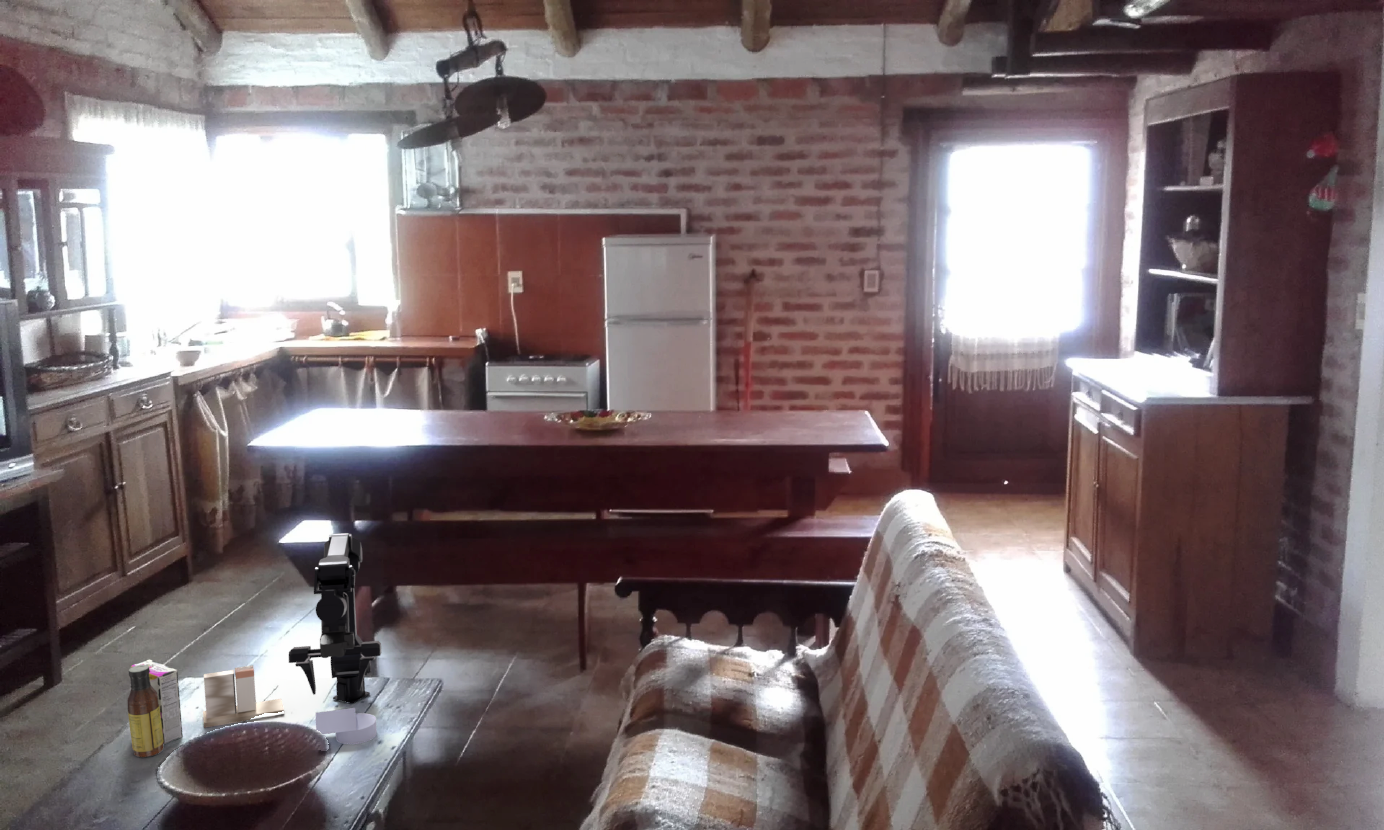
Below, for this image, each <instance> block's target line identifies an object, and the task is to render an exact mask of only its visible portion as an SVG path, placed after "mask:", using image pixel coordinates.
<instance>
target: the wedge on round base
mask: <svg viewBox="0 0 1384 830" xmlns="http://www.w3.org/2000/svg"><path fill="white" fill-rule="evenodd" d="M377 727H378V726H377V717H376V716H375V715H374V714H371V713H366V712H365V713H364V712H358V713H356V707H351V708H350V707H349V708H343V709H342V708H341V709H335V710H326V711H318V712H315V731H316V730H318V731H320V732H321V733H322V735H327V734H335V740H336V741H337V742H338V743H340V744H344V745H358V744H363V743H367V742H369V741H371V740H373V739H374V738H375V737H377V734H378V730H377Z"/></svg>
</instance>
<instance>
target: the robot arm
mask: <svg viewBox="0 0 1384 830" xmlns="http://www.w3.org/2000/svg"><path fill="white" fill-rule="evenodd" d="M323 546H324V548H323V558H321V559H320V560H319V562H318V565H317V566H315V568H314V580H313V581H314V583H313V595H320V596H321V598H320V599H319V600H318V602H317V603H316V606H315V613H316V616H317V618H318V619H319V620H320V623H321V626H320V627H321V628H320V630H321V633H320V634H321V635H320V638H319V648H313V649H312V648H311V645H308V646H307V645H305V646H293V647H292V648H291V649H290V650H289V652H288V663H289V664H293V663H294V665H295V667H300V669H301V670H302V671H303V673H304V674H305V677H306V679H307V682H308V684H309V687H310V690H311V693H312V695H313V696H315V695H316V693H317V692H316V691H317V690H316V689H317V687H316V678H315V677H316V676H315V669H314V662H313V659H314V658H323V659H327V658H329V657H330V673H331V679H335V678H336V684H335V685H336V686H335V687H336V688H335V689H336V695H334V696H332V699H333V700H334V701H338V702H343V703H347V704H355V703H357V702H359V701H360V700H363V699H364V698H366V697H368V696H370V695H371V692H370V691H366V683H365V681H366V680H365V676H366V677H367V676H368V674H370V673H372V668H371V667H372V665H371V661H372V662H373V661H374V660H376V657H380V656H381V655H382V643H381V642H380V641H379V640H373V641H372V640H371V641H363V640H362V639H361V637H360V636H359V635H358V634H357V615H356V613H357V612H356V596H355V594H356V592H355V585H356V584H355V583H356V577H357V575H358V573H359V572H360V567H361V563H362V562H363V548H362V547H363V546H362V542H361V541H359V539H356V538H354V537H353V535H352V533H349V532H343V533H341V532H340V533H331V534H329V535H328V540H327V541H326V542H325V543H324V545H323Z"/></svg>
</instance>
